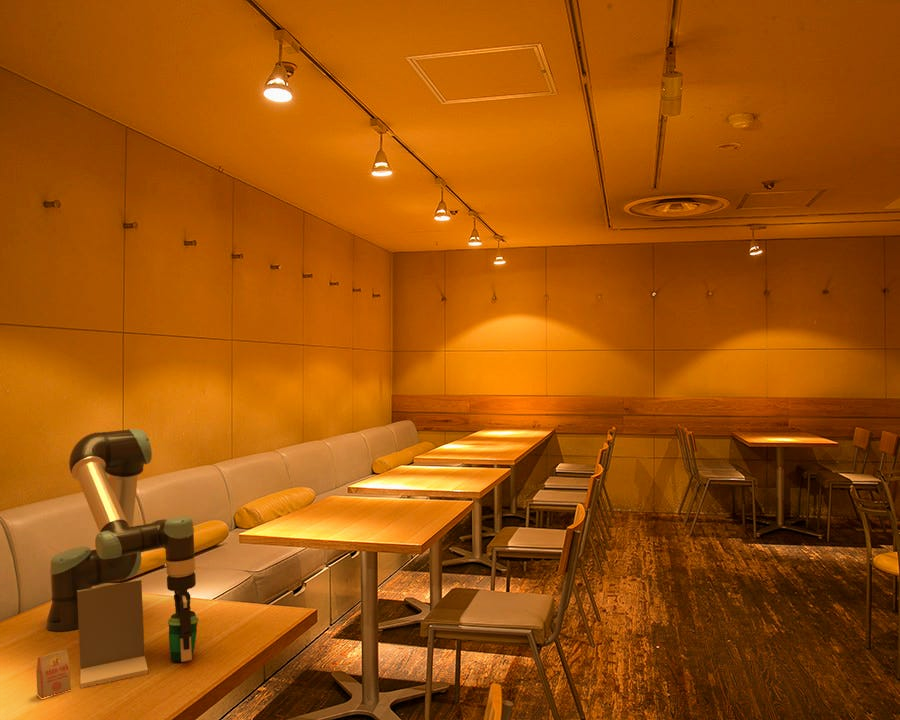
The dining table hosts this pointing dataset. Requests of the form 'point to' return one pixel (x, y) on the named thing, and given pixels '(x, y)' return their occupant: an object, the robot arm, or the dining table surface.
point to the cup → (176, 632)
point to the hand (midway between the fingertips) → (184, 655)
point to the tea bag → (53, 674)
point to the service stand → (111, 633)
